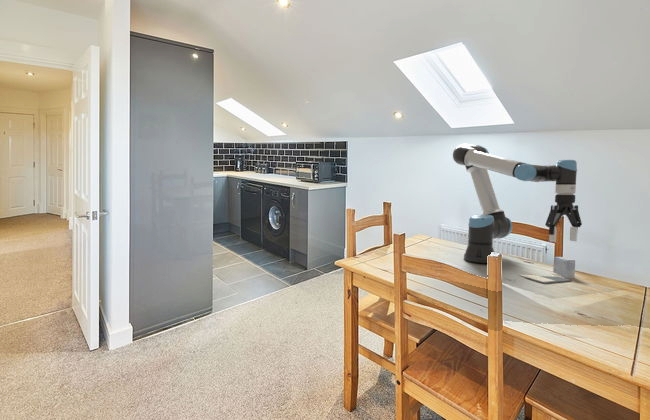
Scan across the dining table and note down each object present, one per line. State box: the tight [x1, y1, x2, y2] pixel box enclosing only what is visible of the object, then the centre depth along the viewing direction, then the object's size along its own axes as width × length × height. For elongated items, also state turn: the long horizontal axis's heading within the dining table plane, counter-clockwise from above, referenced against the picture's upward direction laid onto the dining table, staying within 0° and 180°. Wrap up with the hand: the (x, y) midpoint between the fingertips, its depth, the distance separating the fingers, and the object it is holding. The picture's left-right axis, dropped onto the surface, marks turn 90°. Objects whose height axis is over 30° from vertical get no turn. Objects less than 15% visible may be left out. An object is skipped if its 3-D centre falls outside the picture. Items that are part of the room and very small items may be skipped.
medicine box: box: [552, 256, 576, 279], centre depth 157 cm, size 8×4×9 cm, turn 4°
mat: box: [519, 274, 573, 285], centre depth 154 cm, size 14×16×1 cm
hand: (562, 241), depth 155 cm, fingers open, 12 cm apart
